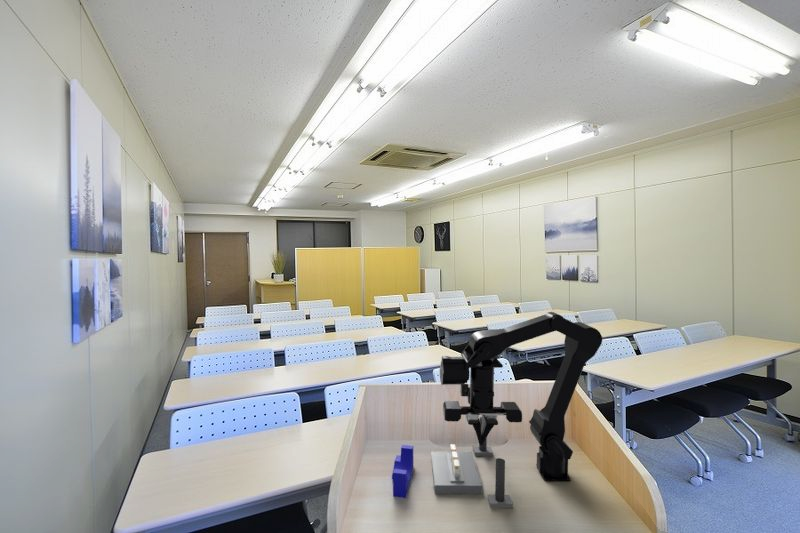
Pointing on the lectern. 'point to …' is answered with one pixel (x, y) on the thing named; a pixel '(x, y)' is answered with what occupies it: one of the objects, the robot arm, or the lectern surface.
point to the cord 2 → (500, 488)
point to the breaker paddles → (454, 460)
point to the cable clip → (402, 471)
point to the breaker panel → (445, 474)
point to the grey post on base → (482, 447)
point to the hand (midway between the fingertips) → (480, 444)
